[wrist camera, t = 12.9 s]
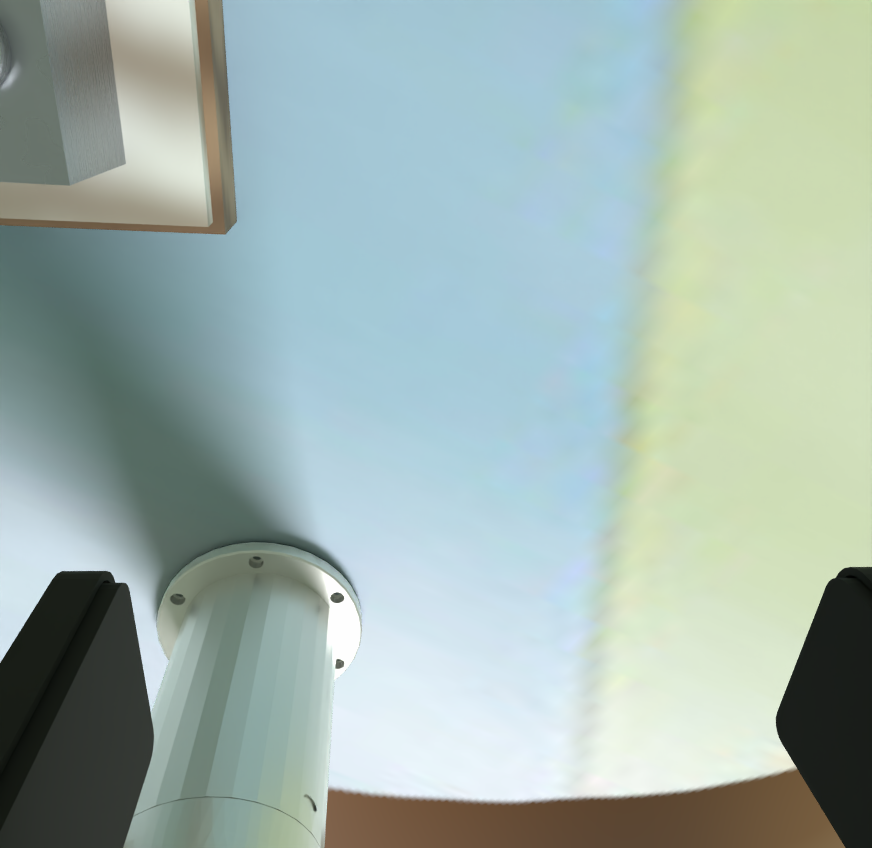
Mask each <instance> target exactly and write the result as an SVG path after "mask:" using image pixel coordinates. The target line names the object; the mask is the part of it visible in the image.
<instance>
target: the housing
mask: <svg viewBox="0 0 872 848" xmlns="http://www.w3.org/2000/svg"><path fill="white" fill-rule="evenodd" d="M124 164H126V160H125V152H124V144H123V136H122V128H121V121H120V113H119V105H118V97H117V89H116V81H115V73H114V66H113V58H112V50H111V42H110V34H109V26H108V18H107V11H106V3H105V0H0V182H8V183H28V184H47V185H67V186H70V185H73V184H75V183H78V182H81V181H83V180H86V179H88V178H91V177H93V176H96V175H99V174H101V173H104V172H106V171H109V170H112V169H114V168H117V167H119V166H122V165H124Z"/></svg>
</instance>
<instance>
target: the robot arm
mask: <svg viewBox="0 0 872 848" xmlns="http://www.w3.org/2000/svg"><path fill="white" fill-rule="evenodd" d="M157 632H158V639H159V642H160V645H161V647H162V649H163V652H164V654H165V656H166V657H167V658H168V660H169V662H168V665H167V668H166V671H165V674H164V677H163V680H162V683H161V686H160V689H159V691H158V694H157V697H156V700H155V703H154V706H153V709H152V712H150V706H149V700H148V695H147V689H146V683H145V677H144V671H143V666H142V660H141V654H140V648H139V643H138V637H137V631H136V625H135V620H134V614H133V608H132V602H131V597H130V591H129V588H128V586H127V584H126V583H115V580H114V577H113V575H112V574H111V572H108V571H62V572H60V573H58V574H57V575H56V576H55V577H54V578H53V580H52V581H51V583H50V584H49V586H48V588H47V589H46V591H45V592H44V594H43V596H42V597H41V599H40V600H39V602H38V604H37V605H36V607H35V608H34V610H33V612H32V613H31V615H30V616H29V618H28V620H27V621H26V623H25V624H24V626H23V628H22V629H21V631H20V632H19V634H18V636H17V637H16V639H15V640H14V642H13V644H12V645H11V647H10V648H9V650H8V652H7V653H6V655H5V656H4V658H3V660H2V661H1V663H0V848H324V845H325V828H326V811H327V794H328V778H329V762H330V745H331V729H332V712H333V695H334V681H335V680H336V679H337V678H338V677H339V676H340V675H341V674H342V673H344V672H345V671H346V669H347V668H348V667H349V665H350V664H351V662H352V661H353V659H354V658H355V656H356V653H357V651H358V648H359V646H360V641H361V634H362V613H361V609H360V605H359V601H358V598H357V596H356V595H355V593H354V591H353V589H352V587H351V585H350V584H349V583H348V582H347V580H346V579H345V578H344V577H343V576H342V574H341V573H340V572H338V571H337V570H336V569H335V568H333V567H332V566H331V565H330V564H329V563H327V562H326V561H324V560H322V559H320V558H318V557H317V556H315V555H313V554H311V553H309V552H306V551H303V550H300V549H297V548H295V547H291V546H286V545H281V544H276V543H261V542H249V543H241V544H232V545H229V546H225V547H222V548H218V549H215V550H212V551H210V552H208V553H206V554H204V555H202V556H200V557H197V558H196V559H194V560H193V561H192V562H190V563H189V564H188V565H186V566H185V567H184V568H182V569H181V570H180V572H179V573H178V574H177V575H176V576H175V577H174V578H173V579H172V581H171V582H170V584H169V586H168V588H167V590H166V592H165V594H164V596H163V599H162V601H161V604H160V607H159V610H158V616H157ZM776 727H777V732H778V735H779V738H780V740H781V742H782V744H783V746H784V747H785V749H786V751H787V752H788V754H789V756H790V757H791V759H792V761H793V762H794V764H795V765H796V767H797V769H798V770H799V772H800V774H801V775H802V777H803V779H804V780H805V782H806V784H807V785H808V787H809V788H810V790H811V792H812V793H813V795H814V797H815V798H816V800H817V802H818V803H819V805H820V807H821V808H822V810H823V811H824V813H825V815H826V816H827V818H828V820H829V821H830V823H831V825H832V826H833V828H834V830H835V831H836V833H837V834H838V836H839V838H840V839H841V841H842V843H843V844H844V846H845V847H846V848H872V567H849V568H844V569H843V570H842V571H840V572H839V573H838V575H837V577H836V578H834V579H832V580H830V581H829V582H828V584H827V586H826V588H825V591H824V593H823V596H822V598H821V601H820V604H819V606H818V609H817V611H816V614H815V616H814V619H813V622H812V624H811V627H810V629H809V632H808V634H807V637H806V640H805V642H804V645H803V647H802V650H801V652H800V655H799V658H798V660H797V663H796V665H795V668H794V670H793V673H792V676H791V678H790V681H789V683H788V686H787V688H786V691H785V694H784V696H783V699H782V701H781V704H780V706H779V709H778V712H777V716H776Z"/></svg>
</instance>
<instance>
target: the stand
mask: <svg viewBox="0 0 872 848" xmlns="http://www.w3.org/2000/svg"><path fill="white" fill-rule="evenodd" d="M105 3H106V11H107V18H108V26H109V34H110V42H111V50H112V58H113V66H114V73H115V81H116V89H117V97H118V105H119V113H120V121H121V128H122V136H123V144H124V152H125V160H126V164H124V165H122V166H119V167H117V168H114V169H112V170H109V171H106V172H104V173H101V174H99V175H96V176H93V177H91V178H88V179H86V180H83V181H81V182H78V183H75V184H73V185H70V186H67V185H47V184H28V183H8V182H0V225H9V226H33V227H57V228H82V229H106V230H130V231H154V232H178V233H203V234H226V233H227V232H228V231H229V230H230V229H231V227H232V226H233V225H234V224H235V223H236V222H237V216H236V201H235V186H234V171H233V156H232V141H231V126H230V111H229V96H228V81H227V66H226V51H225V36H224V22H223V7H222V0H105Z"/></svg>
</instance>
